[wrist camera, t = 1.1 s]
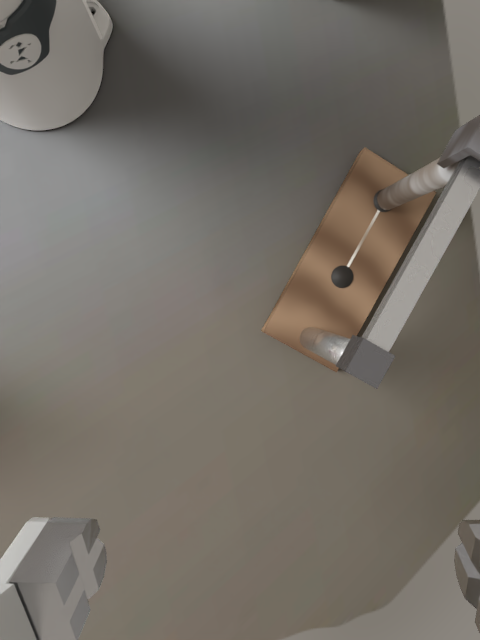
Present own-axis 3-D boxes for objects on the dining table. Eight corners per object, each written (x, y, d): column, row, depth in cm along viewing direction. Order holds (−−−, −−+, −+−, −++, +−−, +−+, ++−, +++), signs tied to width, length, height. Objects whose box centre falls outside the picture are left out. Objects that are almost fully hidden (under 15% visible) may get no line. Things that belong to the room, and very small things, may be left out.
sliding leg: (313, 354, 47) (377, 388, 30) (293, 342, 46) (345, 371, 30) (404, 190, 46) (518, 134, 30) (384, 178, 46) (488, 114, 29)
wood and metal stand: (332, 369, 49) (420, 422, 29) (261, 330, 48) (303, 358, 28) (429, 195, 49) (584, 130, 29) (359, 151, 47) (472, 53, 28)
